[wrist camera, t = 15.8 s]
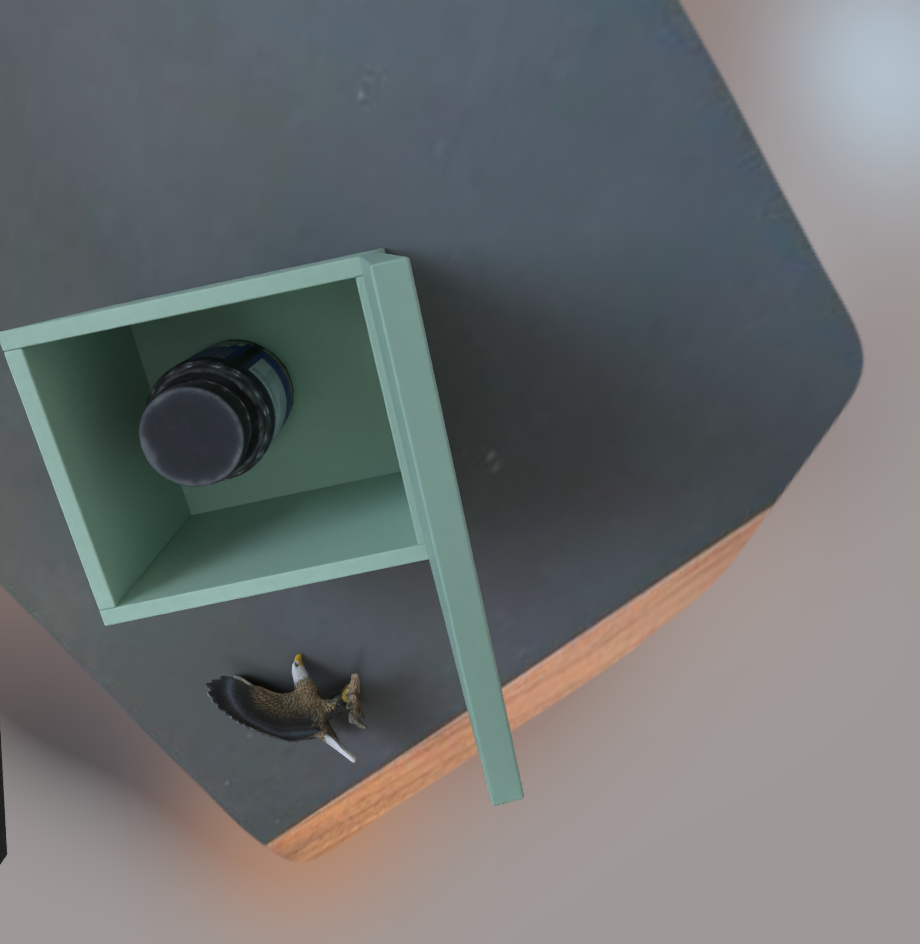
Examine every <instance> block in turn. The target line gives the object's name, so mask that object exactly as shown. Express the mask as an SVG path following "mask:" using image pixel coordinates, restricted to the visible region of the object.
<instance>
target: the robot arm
mask: <svg viewBox="0 0 920 944" xmlns="http://www.w3.org/2000/svg"><path fill="white" fill-rule="evenodd" d="M6 855H7V845H6V827H5V808H4V789H3V771H2V753H1V735H0V864H1V863H2V861H3V859H4V858H5V857H6Z"/></svg>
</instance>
